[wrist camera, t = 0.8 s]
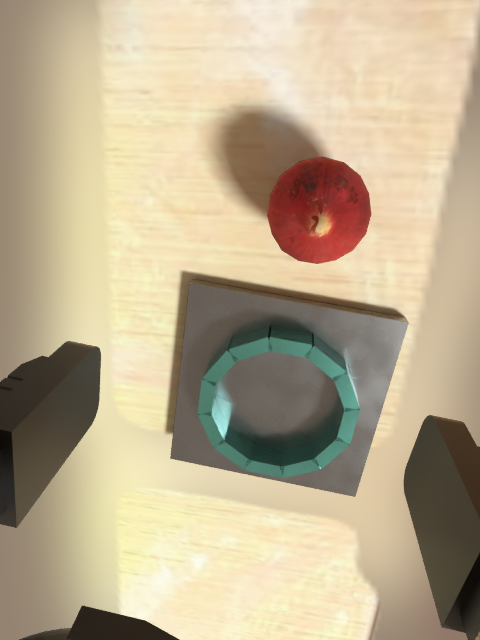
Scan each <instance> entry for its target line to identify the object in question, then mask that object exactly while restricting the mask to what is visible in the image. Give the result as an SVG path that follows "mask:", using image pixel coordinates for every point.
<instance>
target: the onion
mask: <svg viewBox="0 0 480 640" xmlns="http://www.w3.org/2000/svg"><path fill="white" fill-rule="evenodd" d="M267 216H268V220H269V224H270V228H271V232H272V235H273V237H274V238H275V240H276V242H277V243H278V245H279V246H280V248H281V250H282V251H284V252H285V253H287V254H288V255H290V256H292V257H293V258H295V259H297V260H298V261H303V262H309V263H315V264H319V263H324V262H329V261H334V260H337V259H338V258H340V257H342V256H344V255H345V254H347V253H349V252H351V251H352V250H354V248H355V247H356V246H357V244H358V243H359V242H360V241H361V239H362V238H363V237H364V236H365V234H366V232H367V228H368V224H369V221H370V217H371V207H370V199H369V193H368V190H367V188H366V186H365V184H364V182H363V180H362V178H361V176H360V175H359V174H358V173H356V172H355V171H354V170H353V169H352V168H350V167H349V166H348V165H347V164H345V163H344V162H340V161H337V160H333V159H329V158H326V157H318V158H313V159H308V160H304V161H299V162H298V163H297V164H295V165H294V166H293V167H291V168H290V169H289V170H287V171H286V172H285V173H283V174H282V175H281V176H280V178H279V180H278V182H277V184H276V185H275V187H274V189H273V191H272V193H271V195H270V201H269V208H268V214H267Z"/></svg>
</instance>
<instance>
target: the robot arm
mask: <svg viewBox="0 0 480 640" xmlns="http://www.w3.org/2000/svg"><path fill="white" fill-rule="evenodd" d="M100 367H101V352H100V349H99V348H98V347H96V346H91V345H86V344H81V343H76V342H71V341H67V342H65V343H64V344H63V345H62V346H61V347H60V348H59V349H57V350H56V351H55V352H54V353H53V354H52V355H51V356H49V357H45V356H41V357H38V358H36V359H33V360H31V361H29V362H26V363H24V364H21V365H20V366H19V367H18V368H17V369H15V370H14V371H13V372H12V373H10V374H9V375H8V377H7V378H5V379H3V380H2V381H1V382H0V524H2V525H7V526H11V527H15V528H17V527H18V525H19V524H20V523H21V521H22V520H23V518H24V517H25V516H26V514H27V513H28V512H29V510H30V509H31V507H32V506H33V505H34V503H35V502H36V501H37V499H38V498H39V496H40V495H41V494H42V492H43V491H44V490H45V488H46V487H47V485H48V484H49V483H50V481H51V480H52V478H53V477H54V476H55V474H56V473H57V472H58V470H59V469H60V468H61V466H62V465H63V463H64V462H65V461H66V459H67V458H68V457H69V455H70V454H71V452H72V451H73V450H74V448H75V447H76V446H77V444H78V443H79V441H80V440H81V439H82V437H83V436H84V435H85V433H86V432H87V430H88V429H89V428H90V426H91V425H92V423H93V421H94V419H95V416H96V413H97V410H98V405H99V392H100ZM404 492H405V496H406V500H407V504H408V507H409V511H410V515H411V518H412V522H413V525H414V529H415V532H416V536H417V540H418V543H419V547H420V550H421V554H422V557H423V561H424V565H425V569H426V572H427V576H428V579H429V583H430V587H431V590H432V594H433V598H434V601H435V605H436V608H437V612H438V616H439V619H440V623H441V626H442V627H443V628H447V629H451V630H456V631H460V632H464V633H466V635H467V638H468V640H480V447H478V446H477V445H476V444H475V442H474V440H473V438H472V437H471V434H470V433H469V431H468V429H467V427H466V426H465V424H464V423H463V422H461V421H457V420H452V419H447V418H442V417H437V416H432V415H429V416H427V417H426V418H425V420H424V422H423V424H422V426H421V429H420V431H419V434H418V437H417V439H416V442H415V445H414V447H413V450H412V453H411V455H410V458H409V461H408V463H407V466H406V469H405V474H404ZM20 640H179V639H177V638H176V637H174V636H172V635H170V634H168V633H167V632H165V631H163V630H161V629H159V628H158V627H156V626H154V625H152V624H151V623H149V622H147V621H145V620H141V619H136V618H132V617H128V616H124V615H120V614H115V613H111V612H107V611H102V610H99V609H94V608H90V607H86V606H82V607H81V609H80V611H79V613H78V615H77V618H76V620H75V622H74V624H73V626H72V628H66V629H57V630H51V631H45V632H41V633H38V634H34V635H31V636H27V637H25V638H22V639H20Z"/></svg>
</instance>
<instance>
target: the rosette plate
mask: <svg viewBox="0 0 480 640" xmlns="http://www.w3.org/2000/svg"><path fill="white" fill-rule="evenodd" d="M407 326H408V321H407V319H406V318H405V317H400V316H394V315H389V314H383V313H378V312H372V311H367V310H361V309H355V308H350V307H344V306H339V305H333V304H328V303H322V302H317V301H311V300H305V299H300V298H294V297H289V296H283V295H278V294H272V293H267V292H261V291H255V290H250V289H244V288H239V287H233V286H228V285H222V284H216V283H211V282H205V281H200V280H194V279H193V280H192V281H191V282H190V284H189V293H188V302H187V311H186V320H185V329H184V338H183V348H182V357H181V366H180V375H179V384H178V393H177V402H176V412H175V421H174V430H173V439H172V448H171V457H170V458H171V459H175V460H180V461H185V462H190V463H195V464H199V465H204V466H209V467H214V468H219V469H224V470H228V471H233V472H238V473H243V474H248V475H253V476H257V477H263V478H267V479H272V480H277V481H282V482H286V483H291V484H296V485H301V486H305V487H311V488H315V489H320V490H325V491H330V492H334V493H340V494H344V495H349V496H354V497H355V496H356V492H357V489H358V486H359V483H360V479H361V476H362V472H363V469H364V466H365V463H366V460H367V456H368V453H369V450H370V447H371V443H372V440H373V437H374V434H375V430H376V427H377V424H378V421H379V417H380V414H381V411H382V407H383V404H384V401H385V398H386V394H387V391H388V388H389V385H390V381H391V378H392V375H393V372H394V368H395V365H396V362H397V359H398V355H399V352H400V349H401V346H402V342H403V339H404V336H405V332H406V329H407Z"/></svg>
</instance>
